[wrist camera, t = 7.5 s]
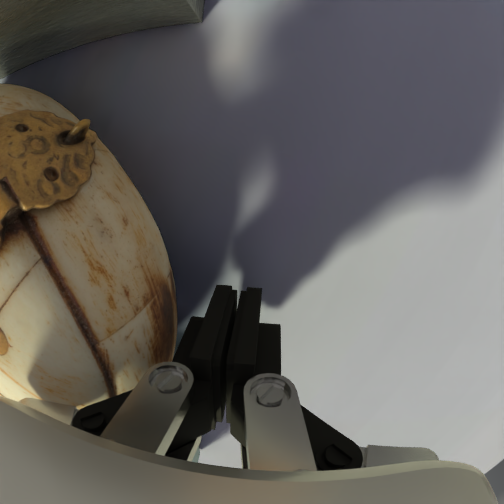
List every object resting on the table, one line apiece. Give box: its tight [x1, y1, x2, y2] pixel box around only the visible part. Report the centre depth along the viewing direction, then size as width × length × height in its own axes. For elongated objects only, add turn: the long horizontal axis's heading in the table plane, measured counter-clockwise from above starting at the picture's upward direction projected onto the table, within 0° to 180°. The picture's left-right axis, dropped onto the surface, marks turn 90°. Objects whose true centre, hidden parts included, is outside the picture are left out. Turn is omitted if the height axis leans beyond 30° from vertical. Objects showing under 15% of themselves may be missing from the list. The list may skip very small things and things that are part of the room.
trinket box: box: [0, 84, 177, 410], centre depth 8 cm, size 13×15×8 cm
